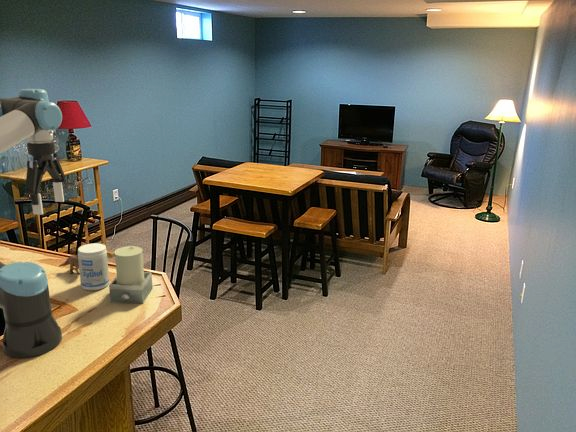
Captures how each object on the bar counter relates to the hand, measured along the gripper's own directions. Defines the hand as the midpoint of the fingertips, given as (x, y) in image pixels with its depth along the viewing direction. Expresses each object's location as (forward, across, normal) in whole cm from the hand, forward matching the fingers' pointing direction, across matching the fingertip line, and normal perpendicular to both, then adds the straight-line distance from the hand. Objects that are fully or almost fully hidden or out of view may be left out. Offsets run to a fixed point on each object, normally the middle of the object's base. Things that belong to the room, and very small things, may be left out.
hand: (49, 207), depth 151 cm
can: (+28, +4, -22) cm, 36 cm away
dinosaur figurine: (+33, +22, +4) cm, 40 cm away
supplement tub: (+33, +11, -7) cm, 35 cm away
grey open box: (+33, +4, -22) cm, 40 cm away
